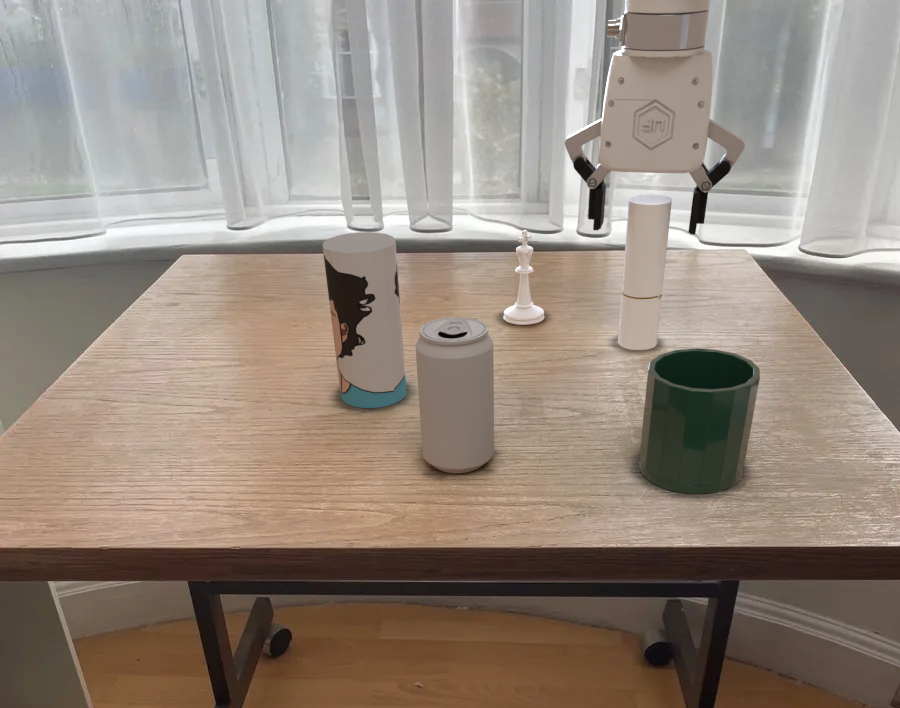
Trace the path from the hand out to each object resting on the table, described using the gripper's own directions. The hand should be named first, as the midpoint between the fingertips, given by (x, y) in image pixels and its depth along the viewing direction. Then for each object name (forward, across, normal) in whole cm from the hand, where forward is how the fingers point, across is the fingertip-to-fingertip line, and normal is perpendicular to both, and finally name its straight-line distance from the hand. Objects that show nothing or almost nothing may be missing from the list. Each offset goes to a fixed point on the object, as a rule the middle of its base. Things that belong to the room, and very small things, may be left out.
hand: (644, 228), depth 93 cm
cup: (+12, -25, -18) cm, 33 cm away
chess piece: (+12, -14, +6) cm, 19 cm away
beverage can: (+12, -13, -30) cm, 35 cm away
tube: (+12, 0, 0) cm, 12 cm away
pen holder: (+12, +7, -28) cm, 31 cm away
